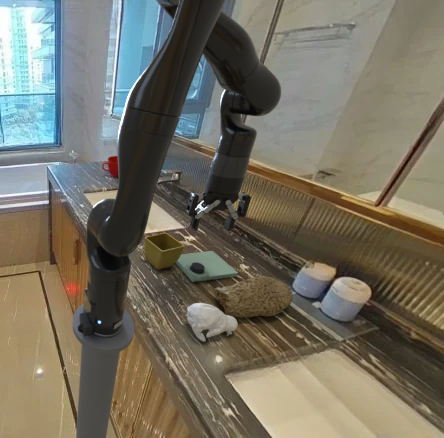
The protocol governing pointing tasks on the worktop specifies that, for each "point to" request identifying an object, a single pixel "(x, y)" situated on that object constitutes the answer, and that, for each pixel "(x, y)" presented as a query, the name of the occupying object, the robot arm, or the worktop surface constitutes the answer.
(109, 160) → the ceramic cup
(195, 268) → the button
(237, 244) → the worktop surface
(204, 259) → the scale
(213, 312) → the white animal figurine
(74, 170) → the worktop surface
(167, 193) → the worktop surface
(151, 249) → the flower pot
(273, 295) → the sponge
